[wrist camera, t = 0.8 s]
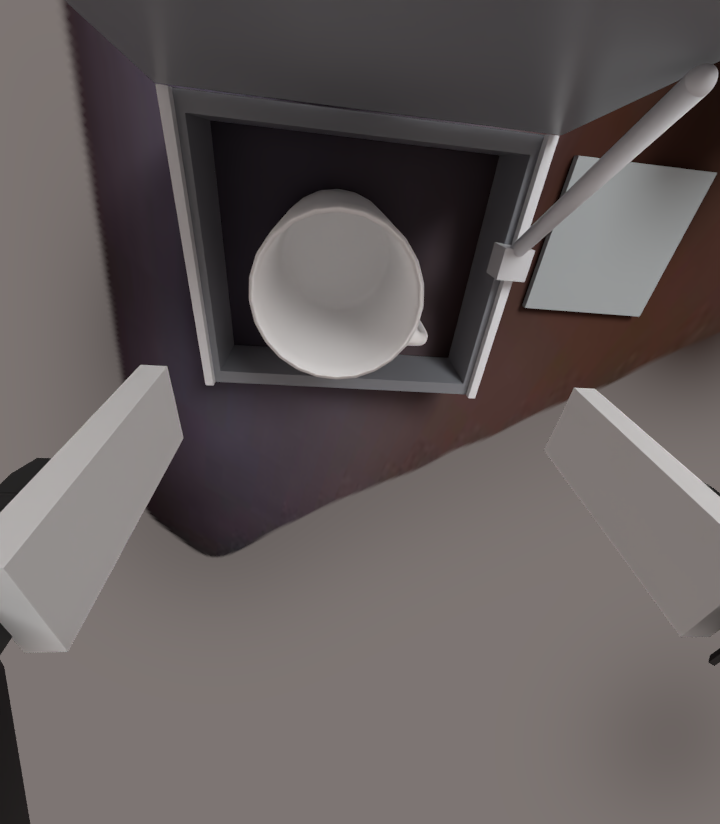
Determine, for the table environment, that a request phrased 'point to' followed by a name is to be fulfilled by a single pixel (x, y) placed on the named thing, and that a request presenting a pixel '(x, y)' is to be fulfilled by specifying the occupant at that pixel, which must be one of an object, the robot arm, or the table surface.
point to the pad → (616, 239)
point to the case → (515, 174)
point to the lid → (421, 52)
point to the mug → (337, 287)
